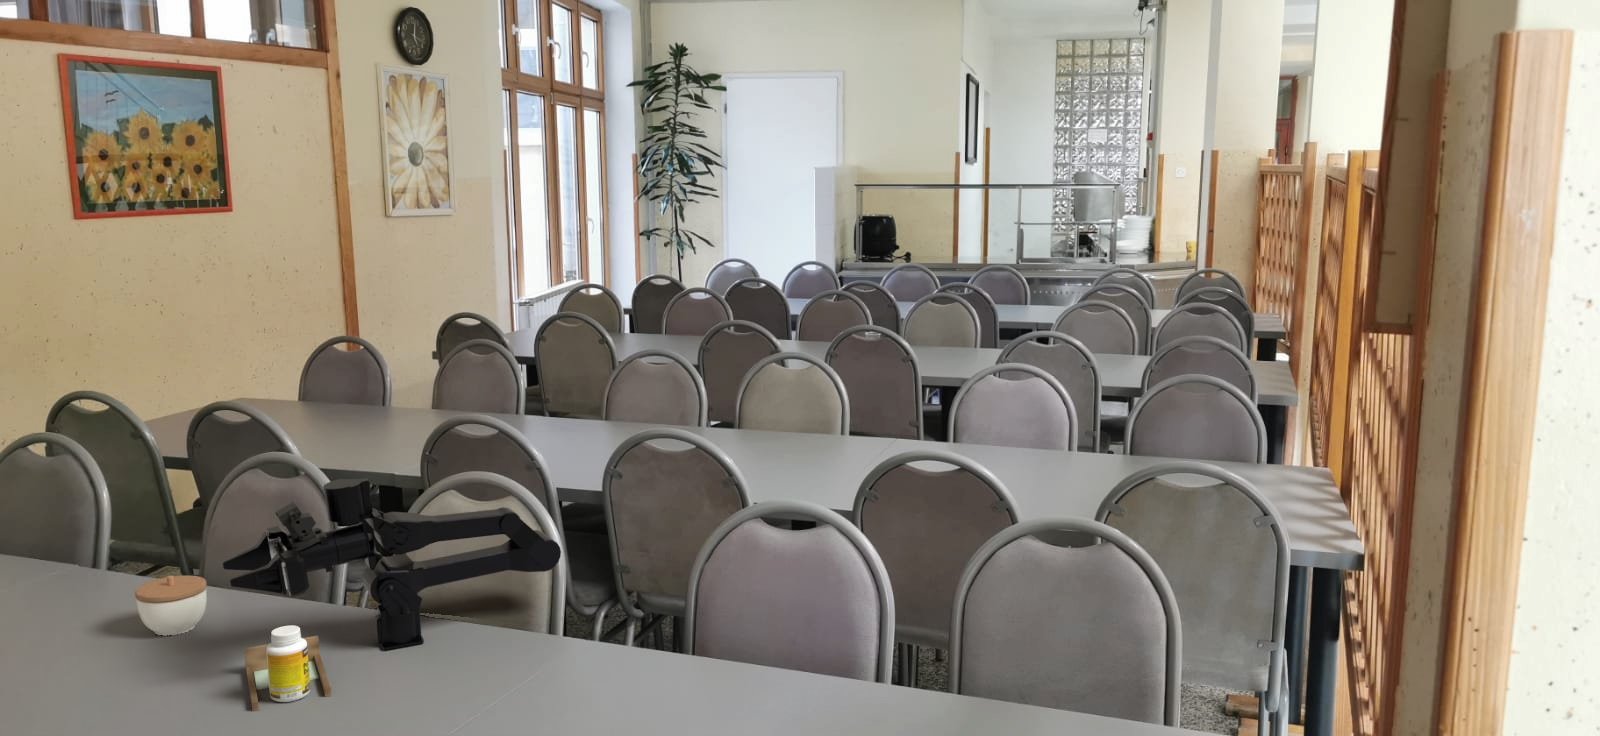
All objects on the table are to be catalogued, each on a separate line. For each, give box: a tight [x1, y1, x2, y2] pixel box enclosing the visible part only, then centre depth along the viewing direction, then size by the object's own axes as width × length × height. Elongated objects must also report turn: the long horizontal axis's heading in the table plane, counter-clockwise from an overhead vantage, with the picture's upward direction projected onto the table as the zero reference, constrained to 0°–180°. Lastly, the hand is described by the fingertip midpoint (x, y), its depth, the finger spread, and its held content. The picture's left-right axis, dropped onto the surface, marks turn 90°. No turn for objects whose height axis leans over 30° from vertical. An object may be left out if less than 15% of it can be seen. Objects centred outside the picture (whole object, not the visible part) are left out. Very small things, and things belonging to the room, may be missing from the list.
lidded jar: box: [134, 575, 208, 637], centre depth 198 cm, size 11×11×9 cm
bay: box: [244, 635, 332, 712], centre depth 177 cm, size 11×15×4 cm
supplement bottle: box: [266, 624, 311, 703], centre depth 172 cm, size 6×6×10 cm
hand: (226, 574), depth 177 cm, fingers open, 9 cm apart
